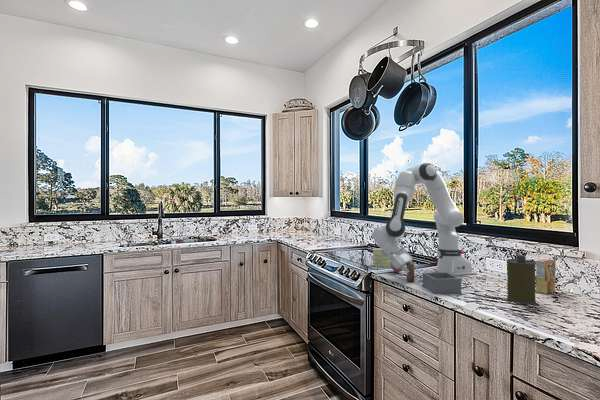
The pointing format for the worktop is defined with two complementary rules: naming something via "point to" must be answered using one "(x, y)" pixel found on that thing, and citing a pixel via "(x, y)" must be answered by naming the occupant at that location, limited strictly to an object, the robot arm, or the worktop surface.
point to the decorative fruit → (395, 268)
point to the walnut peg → (411, 274)
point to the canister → (521, 280)
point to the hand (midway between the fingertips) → (411, 270)
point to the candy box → (545, 276)
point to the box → (380, 258)
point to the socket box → (442, 283)
